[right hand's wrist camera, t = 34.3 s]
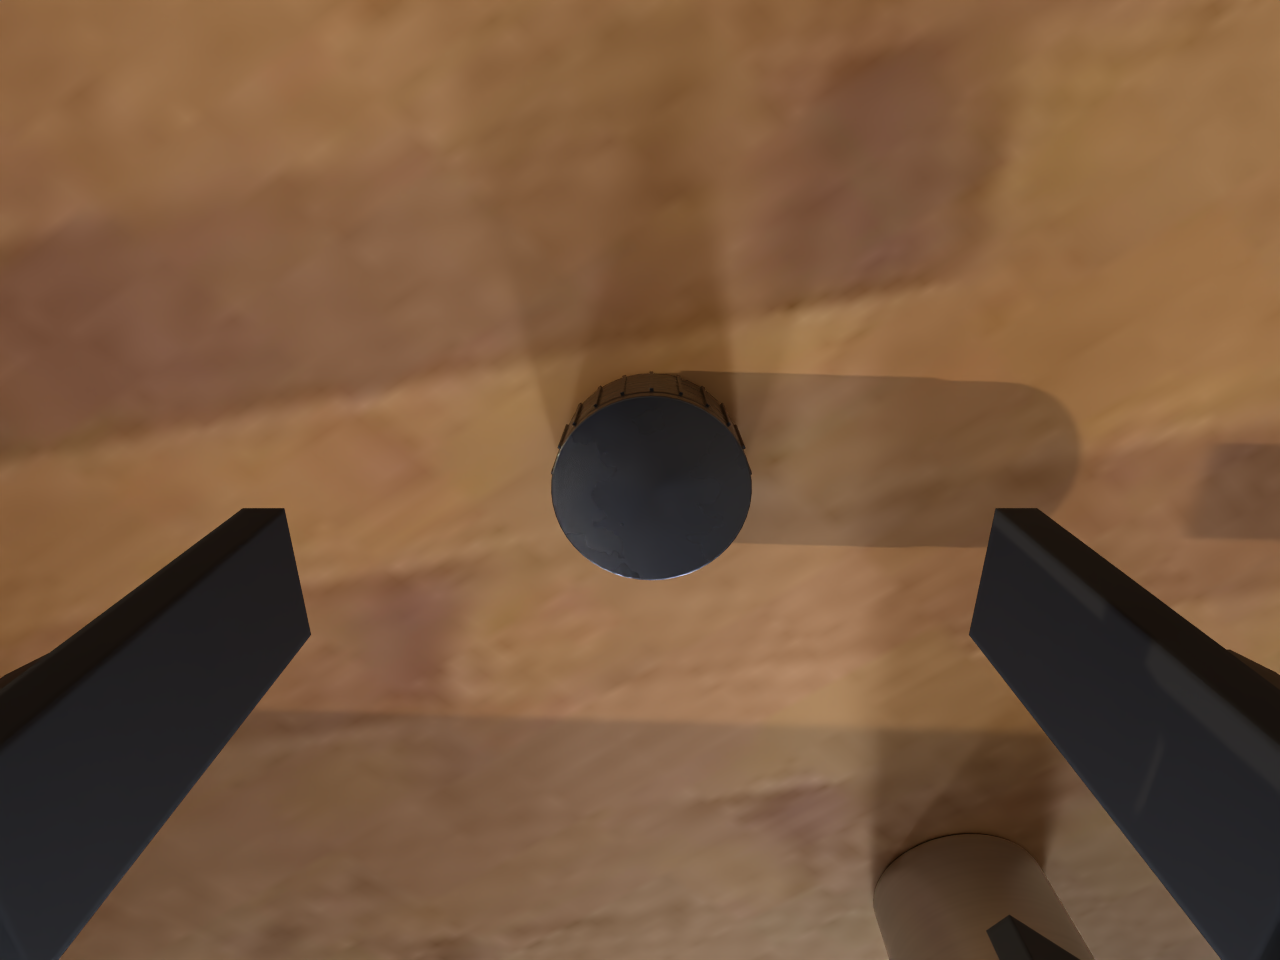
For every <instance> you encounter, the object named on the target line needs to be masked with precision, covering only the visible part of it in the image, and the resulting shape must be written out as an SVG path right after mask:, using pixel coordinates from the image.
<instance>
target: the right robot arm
mask: <svg viewBox="0 0 1280 960" xmlns="http://www.w3.org/2000/svg"><path fill="white" fill-rule="evenodd" d="M310 635H311V633H310V628H309V623H308V618H307V614H306V609H305V604H304V599H303V595H302V590H301V585H300V580H299V576H298V571H297V566H296V561H295V557H294V552H293V547H292V542H291V538H290V533H289V528H288V523H287V519H286V514H285V509H284V508H243V509H241V510H240V511H239V512H237V513H236V514H235V515H233V516H232V517H231V518H229V519H228V520H227V521H225V522H224V523H223V524H221V525H220V526H219V527H217V528H216V529H215V530H213V531H212V532H211V533H209V534H208V535H207V536H205V537H204V538H202V539H201V540H200V541H198V542H197V543H196V544H194V545H193V546H192V547H190V548H189V549H188V550H186V551H185V552H184V553H182V554H181V555H180V556H178V557H177V558H176V559H174V560H173V561H172V562H170V563H169V564H168V565H166V566H165V567H164V568H162V569H161V570H160V571H158V572H157V573H156V574H154V575H153V576H152V577H150V578H149V579H148V580H146V581H145V582H144V583H142V584H141V585H140V586H138V587H137V588H136V589H134V590H133V591H132V592H130V593H129V594H128V595H126V596H125V597H124V598H122V599H121V600H120V601H118V602H117V603H116V604H114V605H113V606H112V607H110V608H109V609H108V610H106V611H105V612H104V613H102V614H101V615H100V616H98V617H97V618H96V619H94V620H93V621H92V622H90V623H89V624H87V625H86V626H85V627H83V628H82V629H81V630H79V631H78V632H77V633H75V634H74V635H73V636H71V637H70V638H69V639H67V640H66V641H65V642H63V643H62V644H61V645H59V646H58V647H57V648H55V649H54V650H53V651H51V652H50V653H48V654H46V655H44V656H42V657H40V658H38V659H36V660H34V661H32V662H30V663H28V664H26V665H24V666H22V667H20V668H18V669H16V670H14V671H12V672H10V673H8V674H6V675H5V676H3V677H2V678H0V960H59V958H60V957H61V956H62V955H63V953H64V952H65V951H66V949H67V948H68V947H69V946H70V944H71V943H72V942H73V940H74V939H75V938H76V937H77V935H78V934H79V933H80V931H81V930H82V929H83V928H84V926H85V925H86V924H87V922H88V921H89V920H90V919H91V917H92V916H93V915H94V913H95V912H96V911H97V910H98V908H99V907H100V906H101V904H102V903H103V902H104V901H105V899H106V898H107V897H108V895H109V894H110V893H111V891H112V890H113V889H114V888H115V886H116V885H117V884H118V882H119V881H120V880H121V879H122V877H123V876H124V875H125V873H126V872H127V871H128V870H129V868H130V867H131V866H132V864H133V863H134V862H135V861H136V859H137V858H138V857H139V855H140V854H141V853H142V852H143V850H144V849H145V848H146V846H147V845H148V844H149V843H150V841H151V840H152V839H153V837H154V836H155V835H156V834H157V832H158V831H159V830H160V828H161V827H162V826H163V825H164V823H165V822H166V821H167V819H168V818H169V817H170V816H171V814H172V813H173V812H174V810H175V809H176V808H177V807H178V805H179V804H180V803H181V801H182V800H183V799H184V798H185V796H186V795H187V794H188V792H189V791H190V790H191V789H192V787H193V786H194V785H195V783H196V782H197V781H198V780H199V778H200V777H201V776H202V774H203V773H204V772H205V771H206V769H207V768H208V767H209V765H210V764H211V763H212V762H213V760H214V759H215V758H216V756H217V755H218V754H219V752H220V751H221V750H222V749H223V747H224V746H225V745H226V743H227V742H228V741H229V740H230V738H231V737H232V736H233V734H234V733H235V732H236V731H237V729H238V728H239V727H240V725H241V724H242V723H243V722H244V720H245V719H246V718H247V716H248V715H249V714H250V713H251V711H252V710H253V709H254V707H255V706H256V705H257V704H258V702H259V701H260V700H261V698H262V697H263V696H264V695H265V693H266V692H267V691H268V689H269V688H270V687H271V686H272V684H273V683H274V682H275V680H276V679H277V678H278V677H279V675H280V674H281V673H282V671H283V670H284V669H285V668H286V666H287V665H288V664H289V662H290V661H291V660H292V659H293V657H294V656H295V655H296V653H297V652H298V651H299V650H300V648H301V647H302V646H303V644H304V643H305V642H306V641H307V639H308V638H309V637H310ZM969 635H970V637H971V638H972V639H973V641H974V642H975V643H976V644H977V646H978V647H979V648H980V650H981V651H982V652H983V653H984V655H985V656H986V657H987V659H988V660H989V661H990V662H991V664H992V665H993V666H994V668H995V669H996V670H997V671H998V673H999V674H1000V675H1001V677H1002V678H1003V679H1004V680H1005V682H1006V683H1007V684H1008V686H1009V687H1010V688H1011V689H1012V691H1013V692H1014V693H1015V695H1016V696H1017V697H1018V698H1019V700H1020V701H1021V702H1022V704H1023V705H1024V706H1025V707H1026V709H1027V710H1028V711H1029V713H1030V714H1031V715H1032V716H1033V718H1034V719H1035V720H1036V722H1037V723H1038V724H1039V725H1040V727H1041V728H1042V729H1043V731H1044V732H1045V733H1046V734H1047V736H1048V737H1049V738H1050V740H1051V741H1052V742H1053V743H1054V745H1055V746H1056V747H1057V749H1058V750H1059V751H1060V753H1061V754H1062V755H1063V756H1064V758H1065V759H1066V760H1067V762H1068V763H1069V764H1070V765H1071V767H1072V768H1073V769H1074V771H1075V772H1076V773H1077V774H1078V776H1079V777H1080V778H1081V780H1082V781H1083V782H1084V783H1085V785H1086V786H1087V787H1088V789H1089V790H1090V791H1091V792H1092V794H1093V795H1094V796H1095V798H1096V799H1097V800H1098V801H1099V803H1100V804H1101V805H1102V807H1103V808H1104V809H1105V810H1106V812H1107V813H1108V814H1109V816H1110V817H1111V818H1112V819H1113V821H1114V822H1115V823H1116V825H1117V826H1118V827H1119V828H1120V830H1121V831H1122V832H1123V834H1124V835H1125V836H1126V837H1127V839H1128V840H1129V841H1130V843H1131V844H1132V845H1133V846H1134V848H1135V849H1136V850H1137V852H1138V853H1139V854H1140V855H1141V857H1142V858H1143V859H1144V861H1145V862H1146V863H1147V864H1148V866H1149V867H1150V868H1151V870H1152V871H1153V872H1154V873H1155V875H1156V876H1157V877H1158V879H1159V880H1160V881H1161V882H1162V884H1163V885H1164V886H1165V888H1166V889H1167V890H1168V891H1169V893H1170V894H1171V895H1172V897H1173V898H1174V899H1175V901H1176V902H1177V903H1178V904H1179V906H1180V907H1181V908H1182V910H1183V911H1184V912H1185V913H1186V915H1187V916H1188V917H1189V919H1190V920H1191V921H1192V922H1193V924H1194V925H1195V926H1196V928H1197V929H1198V930H1199V931H1200V933H1201V934H1202V935H1203V937H1204V938H1205V939H1206V940H1207V942H1208V943H1209V944H1210V946H1211V947H1212V948H1213V949H1214V951H1215V952H1216V953H1217V955H1218V956H1219V957H1220V958H1221V960H1280V675H1279V674H1277V673H1276V672H1274V671H1272V670H1270V669H1268V668H1266V667H1264V666H1262V665H1260V664H1258V663H1256V662H1254V661H1252V660H1250V659H1248V658H1246V657H1244V656H1242V655H1240V654H1238V653H1236V652H1234V651H1232V650H1226V649H1225V648H1223V647H1222V646H1221V645H1219V644H1218V643H1217V642H1215V641H1214V640H1213V639H1211V638H1210V637H1209V636H1207V635H1206V634H1205V633H1203V632H1202V631H1201V630H1199V629H1198V628H1197V627H1195V626H1194V625H1192V624H1191V623H1190V622H1188V621H1187V620H1186V619H1184V618H1183V617H1182V616H1180V615H1179V614H1178V613H1176V612H1175V611H1174V610H1172V609H1171V608H1170V607H1168V606H1167V605H1166V604H1164V603H1163V602H1162V601H1160V600H1159V599H1158V598H1156V597H1155V596H1154V595H1152V594H1151V593H1150V592H1148V591H1147V590H1146V589H1144V588H1143V587H1142V586H1140V585H1139V584H1138V583H1136V582H1135V581H1134V580H1132V579H1131V578H1130V577H1128V576H1127V575H1126V574H1124V573H1123V572H1122V571H1120V570H1119V569H1118V568H1116V567H1115V566H1114V565H1112V564H1111V563H1110V562H1108V561H1107V560H1106V559H1104V558H1103V557H1102V556H1100V555H1099V554H1098V553H1096V552H1095V551H1094V550H1092V549H1091V548H1090V547H1088V546H1087V545H1086V544H1084V543H1083V542H1082V541H1080V540H1079V539H1078V538H1076V537H1075V536H1073V535H1072V534H1071V533H1069V532H1068V531H1067V530H1065V529H1064V528H1063V527H1061V526H1060V525H1059V524H1057V523H1056V522H1055V521H1053V520H1052V519H1051V518H1049V517H1048V516H1047V515H1045V514H1044V513H1043V512H1041V511H1040V510H1039V509H1037V508H996V509H995V514H994V519H993V523H992V528H991V533H990V538H989V542H988V547H987V552H986V557H985V561H984V566H983V571H982V576H981V580H980V585H979V590H978V595H977V599H976V604H975V609H974V614H973V618H972V623H971V628H970V633H969Z"/></svg>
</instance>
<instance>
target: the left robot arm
mask: <svg viewBox="0 0 1280 960" xmlns="http://www.w3.org/2000/svg"><path fill="white" fill-rule="evenodd" d="M986 932H987V934H988V936H989V938H990V941H991V943H992V945H993V947H994V949H995V951H996V954H997V956H998V958H999V960H1080V959H1078V958H1077V957H1075V956H1074V955H1072V954H1071V953H1069V952H1067V951H1066V950H1064V949H1063V948H1061V947H1060V946H1058V945H1056V944H1055V943H1053V942H1052V941H1050V940H1049V939H1047V938H1045V937H1044V936H1042V935H1041V934H1039V933H1038V932H1036V931H1035V930H1033V929H1031V928H1030V927H1028V926H1027V925H1025V924H1024V923H1022V922H1020V921H1019V920H1017V919H1016V918H1014V917H1013V916H1011V915H1008V916H1006V917H1005V918H1004V919H1002V920H1001V921H999V922H998V923H996V924H995V925H993V926H992V927H990V928H989V929H988V930H986Z"/></svg>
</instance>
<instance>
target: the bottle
mask: <svg viewBox="0 0 1280 960" xmlns="http://www.w3.org/2000/svg"><path fill="white" fill-rule="evenodd" d="M873 904H874V911H875V915H876V918H877V921H878V925H879V928H880V931H881V934H882V937H883V940H884V943H885V947H886V950H887V953H888V956H889V959H890V960H999V958H998V956H997V954H996V951H995V949H994V947H993V945H992V943H991V941H990V938H989V936H988V934H987V932H986V930H988V929H989V928H990V927H992V926H993V925H995V924H996V923H998V922H999V921H1001V920H1002V919H1004V918H1005V917H1006V916H1008V915H1011V916H1013V917H1014V918H1016V919H1017V920H1019V921H1020V922H1022V923H1024V924H1025V925H1027V926H1028V927H1030V928H1031V929H1033V930H1035V931H1036V932H1038V933H1039V934H1041V935H1042V936H1044V937H1045V938H1047V939H1049V940H1050V941H1052V942H1053V943H1055V944H1056V945H1058V946H1060V947H1061V948H1063V949H1064V950H1066V951H1067V952H1069V953H1071V954H1072V955H1074V956H1075V957H1077V958H1078V959H1080V960H1095V959H1094V957H1093V956H1092V954H1091V952H1090V951H1089V949H1088V947H1087V946H1086V944H1085V942H1084V940H1083V939H1082V937H1081V935H1080V934H1079V932H1078V930H1077V929H1076V927H1075V925H1074V923H1073V922H1072V920H1071V918H1070V917H1069V915H1068V913H1067V912H1066V910H1065V908H1064V907H1063V905H1062V903H1061V901H1060V900H1059V898H1058V896H1057V895H1056V893H1055V891H1054V890H1053V888H1052V886H1051V884H1050V883H1049V881H1048V879H1047V878H1046V876H1045V874H1044V873H1043V871H1042V869H1041V868H1040V866H1039V864H1038V862H1037V861H1036V860H1035V859H1034V857H1033V856H1032V855H1031V854H1029V853H1028V852H1027V851H1026V850H1025V849H1023V848H1022V847H1020V846H1019V845H1017V844H1015V843H1013V842H1011V841H1009V840H1006V839H1003V838H1000V837H995V836H990V835H983V834H959V835H951V836H946V837H941V838H937V839H934V840H930V841H928V842H925V843H923V844H920V845H918V846H916V847H914V848H912V849H910V850H909V851H907V852H906V853H904V854H902V855H901V856H900V857H898V858H897V859H896V860H895V861H893V862H892V864H891V865H890V866H889V867H888V868H887V869H886V870H885V871H884V873H883V874H882V875H881V877H880V879H879V881H878V883H877V885H876V888H875V892H874V898H873Z"/></svg>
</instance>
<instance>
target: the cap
mask: <svg viewBox="0 0 1280 960" xmlns="http://www.w3.org/2000/svg"><path fill="white" fill-rule="evenodd" d="M558 448H559V452H558V455H557V457H556V460H555V463H554V466H553V468H552V471H551V474H552V480H551V494H552V502H553V507H554V511H555V514H556V517H557V520H558V522H559V524H560V527H561V528H562V530H563V532H564V533H565V535H566V537H567V538H568V539H569V541H570V542H571V543H572V544H573V546H574V547H575V548H576V549H577V550H578V551H579V552H580V553H581V554H582V555H583V556H585V557H586V558H587V559H589V560H590V561H591V562H592V563H594V564H596V565H598V566H599V567H601V568H603V569H605V570H607V571H609V572H612V573H614V574H617V575H620V576H624V577H628V578H633V579H639V580H664V579H670V578H675V577H679V576H682V575H686V574H689V573H691V572H693V571H696V570H698V569H700V568H702V567H704V566H705V565H707V564H709V563H710V562H712V561H713V560H714V559H716V558H717V557H718V556H720V555H721V554H722V553H723V552H724V551H725V550H726V549H727V548H728V547H729V546H730V544H731V543H732V542H733V541H734V539H735V538H736V537H737V535H738V533H739V532H740V530H741V528H742V526H743V524H744V522H745V519H746V517H747V514H748V510H749V507H750V502H751V494H752V480H751V475H752V472H751V469H750V467H749V464H748V461H747V458H746V455H745V453H744V450H743V449H745V445H744V443H743V440H742V438H741V435H740V433H739V430H738V428H737V425H733V423H732V421H731V418H730V417H729V415H728V414H727V412H726V409H725V406H724V404H723V403H721V404H720V403H719V402H718V401H717V400H716V399H715V398H714V397H713V396H711V395H710V394H709V393H708V392H707V391H705V388H704V387H703V386H701V387H699V386H697V385H695V384H693V383H691V382H689V381H687V380H684V379H681V378H680V376H679V375H677V376H676V377H675V376H670V375H665V374H653V372H650V374H638V375H633V376H628V377H626V375H624V376H623V377H622V378H621V379H618V380H615V381H613V382H611V383H609V384H607V385H605V386H604V387H601V386H600V387H598V390H597V391H596V392H595V393H593V394H592V395H591V396H590V397H589V398H588V399H587V400H586V401H585V402H584V403H583V404H582V403H580V404H579V405H578V408H577V411H576V413H575V415H574V416H573V418H572V420H571V422H570V424H569V425H567V424H566V427H565V429H564V432H563V435H562V437H561V440H560V443H559V445H558Z"/></svg>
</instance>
